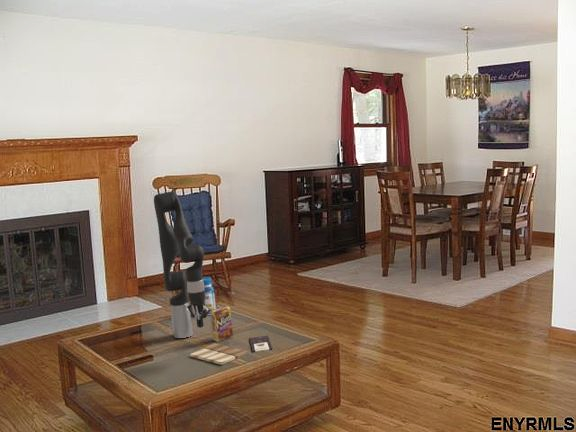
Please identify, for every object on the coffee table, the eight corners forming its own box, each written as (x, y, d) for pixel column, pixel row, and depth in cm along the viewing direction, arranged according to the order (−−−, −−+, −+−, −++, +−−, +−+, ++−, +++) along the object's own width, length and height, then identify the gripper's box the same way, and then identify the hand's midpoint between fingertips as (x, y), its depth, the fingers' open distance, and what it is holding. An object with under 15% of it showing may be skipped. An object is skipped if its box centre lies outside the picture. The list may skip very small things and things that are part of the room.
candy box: (217, 342, 283) (213, 311, 281) (213, 340, 287) (209, 310, 284) (233, 337, 288) (230, 307, 286) (229, 335, 291) (226, 305, 289)
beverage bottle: (219, 312, 332) (215, 277, 329) (208, 316, 325) (204, 281, 323) (209, 310, 337) (205, 276, 334) (198, 314, 331) (194, 280, 328)
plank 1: (190, 356, 268) (190, 353, 267) (204, 350, 273) (203, 348, 273) (205, 360, 261) (204, 357, 261) (218, 354, 267) (218, 351, 267)
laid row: (204, 350, 274) (204, 347, 274) (214, 345, 279) (214, 343, 279) (237, 358, 260) (236, 356, 259) (247, 353, 264) (247, 351, 264)
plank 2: (206, 360, 260) (206, 358, 260) (219, 354, 266) (219, 352, 266) (221, 365, 254) (221, 362, 253) (235, 358, 260) (235, 356, 259)
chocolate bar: (267, 335, 284) (272, 348, 267) (268, 337, 285) (272, 350, 267) (249, 338, 283) (252, 351, 266) (249, 340, 283) (252, 353, 266)
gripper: (180, 290, 264) (184, 327, 267) (199, 293, 255) (203, 332, 258) (192, 285, 270) (197, 322, 272) (212, 289, 261) (216, 326, 264)
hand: (200, 326), depth 265 cm, fingers closed
